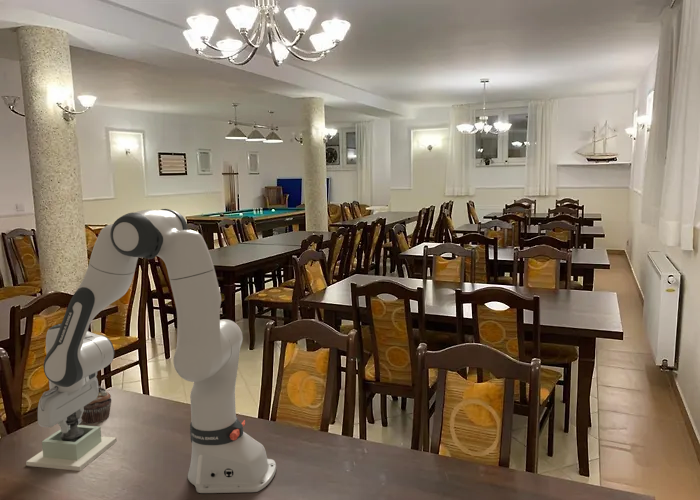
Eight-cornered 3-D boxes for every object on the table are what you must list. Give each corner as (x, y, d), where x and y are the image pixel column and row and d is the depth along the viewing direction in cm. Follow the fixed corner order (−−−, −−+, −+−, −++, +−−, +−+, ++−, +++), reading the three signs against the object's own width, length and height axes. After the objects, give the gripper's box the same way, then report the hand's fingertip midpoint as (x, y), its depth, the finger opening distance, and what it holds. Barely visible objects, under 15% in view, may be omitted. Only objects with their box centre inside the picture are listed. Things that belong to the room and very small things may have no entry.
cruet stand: (116, 441, 156) (115, 423, 155) (79, 470, 141) (78, 450, 140) (67, 437, 159) (66, 419, 158) (26, 465, 143) (24, 445, 143)
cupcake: (101, 409, 178) (99, 380, 177) (118, 416, 173) (116, 386, 171) (73, 419, 171) (70, 389, 169) (89, 427, 165) (86, 396, 164)
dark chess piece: (74, 452, 146) (71, 410, 144) (56, 450, 147) (52, 408, 146) (89, 441, 152) (86, 401, 150) (71, 440, 153) (67, 400, 151)
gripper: (50, 396, 136) (55, 447, 138) (100, 367, 156) (104, 412, 158) (28, 394, 137) (33, 445, 139) (81, 366, 157) (85, 411, 159)
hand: (71, 427), depth 149 cm, fingers closed on dark chess piece, 3 cm apart
